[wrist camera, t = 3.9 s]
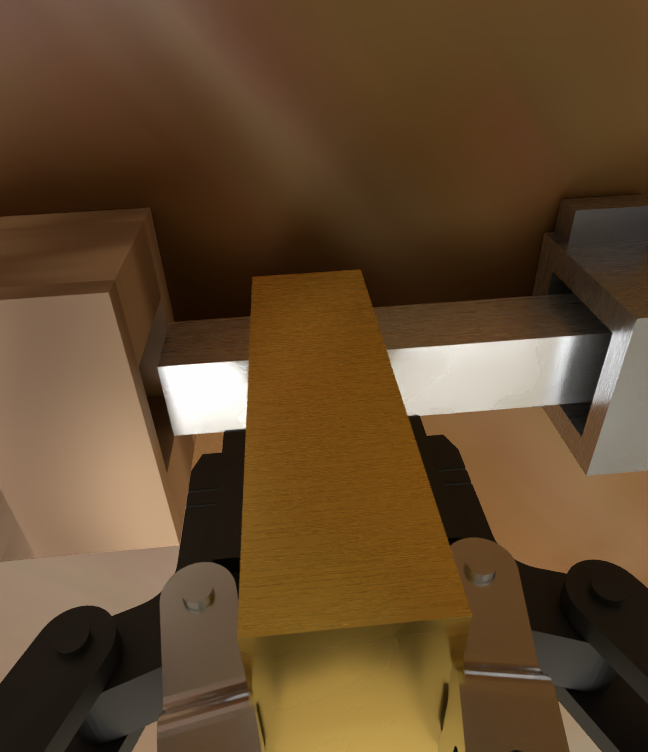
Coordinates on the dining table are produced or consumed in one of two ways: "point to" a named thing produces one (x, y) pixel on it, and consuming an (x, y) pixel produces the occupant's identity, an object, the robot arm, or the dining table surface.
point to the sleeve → (618, 313)
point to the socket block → (85, 388)
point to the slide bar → (359, 486)
